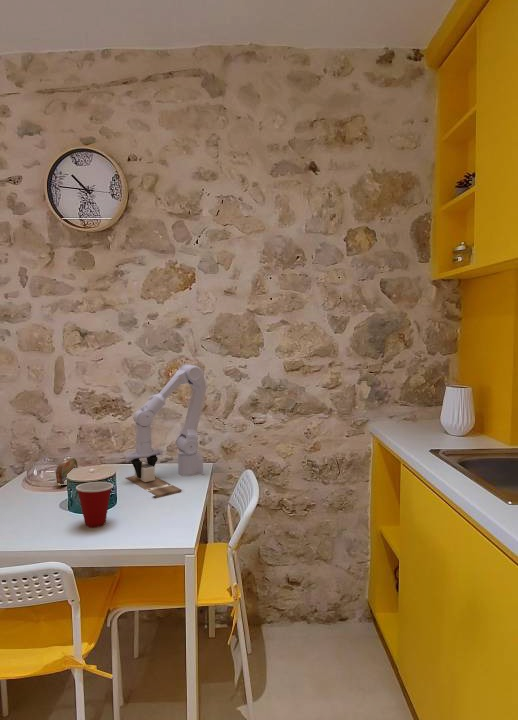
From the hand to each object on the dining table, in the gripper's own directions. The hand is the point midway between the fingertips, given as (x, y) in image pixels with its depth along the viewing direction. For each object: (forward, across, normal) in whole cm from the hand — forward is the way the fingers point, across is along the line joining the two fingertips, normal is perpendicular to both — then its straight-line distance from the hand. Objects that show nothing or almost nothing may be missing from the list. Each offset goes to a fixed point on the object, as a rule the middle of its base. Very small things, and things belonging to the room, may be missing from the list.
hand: (144, 476), depth 191 cm
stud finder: (+1, 0, 0) cm, 1 cm away
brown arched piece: (+2, +23, -19) cm, 30 cm away
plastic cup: (+2, +29, +27) cm, 40 cm away
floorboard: (+2, 0, +6) cm, 6 cm away
